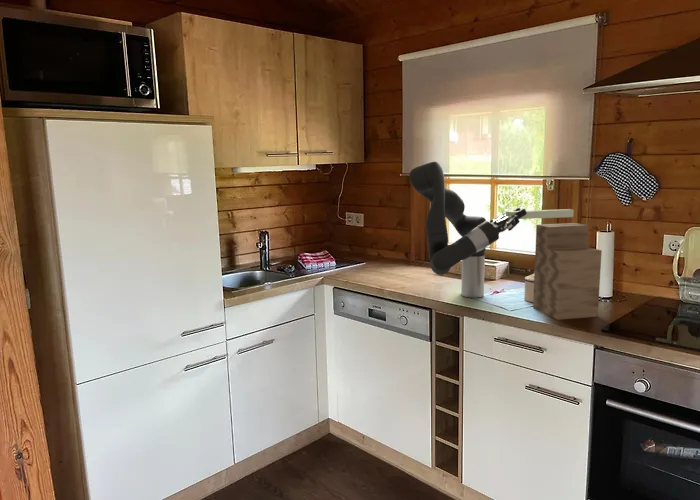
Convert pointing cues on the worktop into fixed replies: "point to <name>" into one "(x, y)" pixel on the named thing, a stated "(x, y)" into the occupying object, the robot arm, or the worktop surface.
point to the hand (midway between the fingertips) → (522, 210)
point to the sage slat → (544, 213)
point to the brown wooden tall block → (566, 272)
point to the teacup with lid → (529, 288)
